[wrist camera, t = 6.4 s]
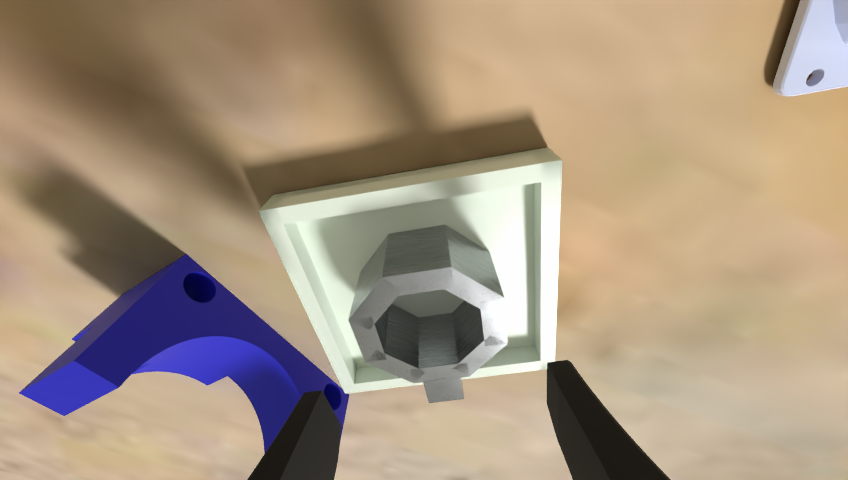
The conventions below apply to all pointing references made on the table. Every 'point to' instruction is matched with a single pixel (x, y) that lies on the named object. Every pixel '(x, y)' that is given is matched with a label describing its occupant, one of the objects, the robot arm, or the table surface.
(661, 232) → the table surface
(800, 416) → the table surface
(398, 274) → the grey octagonal ring
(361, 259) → the tray
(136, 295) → the cable clip
